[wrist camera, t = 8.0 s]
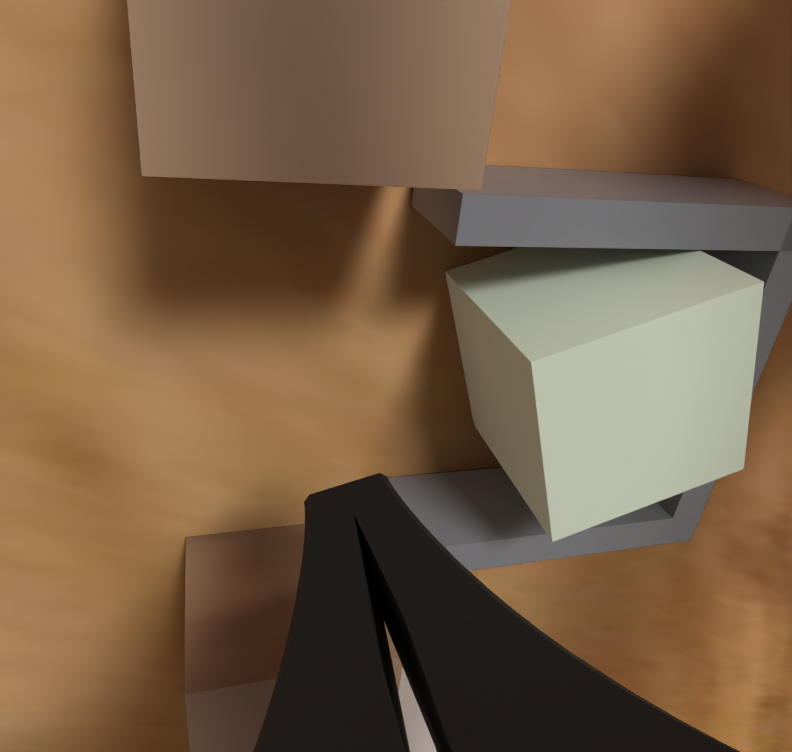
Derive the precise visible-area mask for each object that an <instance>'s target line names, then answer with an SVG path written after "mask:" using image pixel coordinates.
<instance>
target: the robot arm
mask: <svg viewBox="0 0 792 752" xmlns="http://www.w3.org/2000/svg"><path fill="white" fill-rule="evenodd" d="M304 505H305V533H304V545H303V554H302V563H301V569H300V575H299V582H298V588H297V594H296V600H295V605H294V610H293V615H292V619H291V624H290V628H289V632H288V637H287V641H286V645H285V650H284V654H283V658H282V662H281V666H280V669H279V673H278V677H277V680H276V684H275V687H274V690H273V694H272V697H271V700H270V703H269V707H268V710H267V713H266V716H265V719H264V723H263V726H262V729H261V731H260V734H259V737H258V740H257V743H256V745H255V748H254V751H253V752H410V749H409V744H408V739H407V734H406V729H405V724H404V719H403V714H402V709H401V704H400V699H399V693H398V688H397V683H396V678H395V673H394V668H393V663H392V658H391V653H390V648H389V643H388V638H387V633H386V628H385V625H386V627H387V630H388V632H389V634H390V637H391V639H392V642H393V644H394V647H395V649H396V652H397V654H398V657H399V659H400V662H401V664H402V667H403V669H404V671H405V674H406V676H407V679H408V681H409V684H410V686H411V689H412V691H413V694H414V696H415V698H416V701H417V703H418V706H419V708H420V711H421V713H422V716H423V718H424V721H425V723H426V725H427V728H428V730H429V733H430V735H431V738H432V740H433V743H434V745H435V748H436V751H437V752H740V751H738V750H736V749H734V748H732V747H730V746H728V745H726V744H724V743H722V742H720V741H718V740H716V739H714V738H712V737H711V736H709V735H707V734H705V733H703V732H701V731H699V730H698V729H696V728H694V727H692V726H690V725H688V724H686V723H685V722H683V721H681V720H679V719H677V718H676V717H674V716H672V715H671V714H669V713H667V712H665V711H664V710H662V709H660V708H658V707H657V706H655V705H653V704H652V703H650V702H648V701H646V700H645V699H643V698H641V697H639V696H638V695H636V694H634V693H633V692H631V691H630V690H628V689H627V688H625V687H623V686H622V685H620V684H619V683H617V682H616V681H614V680H613V679H611V678H609V677H608V676H606V675H605V674H603V673H602V672H600V671H599V670H597V669H595V668H594V667H592V666H591V665H589V664H588V663H586V662H585V661H583V660H581V659H580V658H578V657H577V656H575V655H574V654H572V653H571V652H569V651H568V650H567V649H565V648H564V647H562V646H561V645H560V644H558V643H557V642H556V641H554V640H553V639H551V638H550V637H549V636H547V635H546V634H544V633H543V632H542V631H540V630H539V629H538V628H536V627H535V626H534V625H533V624H531V623H530V622H529V621H527V620H526V619H525V618H523V617H522V616H521V615H520V614H518V613H517V612H516V611H515V610H513V609H512V608H511V607H510V606H508V605H507V604H506V603H505V602H504V601H502V600H501V599H500V598H499V597H498V596H496V595H495V594H494V593H493V592H492V591H491V590H490V589H488V588H487V587H486V586H485V585H484V584H483V583H482V582H481V581H479V580H478V579H477V578H476V577H475V576H474V575H473V574H472V573H471V572H469V571H468V570H467V569H466V568H465V567H464V566H463V565H462V564H461V563H460V562H459V561H458V560H457V559H456V558H455V557H454V556H453V555H452V554H451V553H450V552H449V551H448V550H447V549H446V548H445V547H444V546H443V545H442V544H441V543H440V542H439V541H438V540H437V539H436V538H435V537H434V536H433V535H432V534H431V532H430V531H429V530H428V529H427V528H426V527H425V526H424V525H423V524H422V523H421V521H420V520H419V519H418V518H417V517H416V516H415V514H414V513H413V512H412V511H411V510H410V508H409V507H408V506H407V505H406V503H405V502H404V501H403V500H402V498H401V497H400V496H399V494H398V493H397V492H396V490H395V489H394V487H393V486H392V484H391V483H390V481H389V479H388V478H387V476H385V475H383V474H380V473H378V474H375V475H372V476H368V477H365V478H362V479H359V480H356V481H352V482H349V483H346V484H343V485H339V486H336V487H333V488H330V489H327V490H323V491H320V492H317V493H314V494H310V495H309V496H308V497H307V499H306V500H305V502H304ZM384 622H385V623H384Z"/></svg>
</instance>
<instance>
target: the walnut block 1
mask: <svg viewBox="0 0 792 752" xmlns="http://www.w3.org/2000/svg"><path fill="white" fill-rule="evenodd" d="M511 1H512V0H127V8H128V20H129V32H130V44H131V55H132V67H133V79H134V91H135V103H136V114H137V126H138V138H139V150H140V161H141V173H142V176H152V177H176V178H200V179H224V180H248V181H271V182H295V183H319V184H343V185H367V186H391V187H415V188H439V189H463V190H481V186H482V180H483V174H484V168H485V161H486V155H487V149H488V143H489V137H490V131H491V124H492V118H493V112H494V106H495V100H496V94H497V87H498V81H499V75H500V69H501V63H502V56H503V50H504V44H505V38H506V32H507V26H508V19H509V13H510V7H511Z"/></svg>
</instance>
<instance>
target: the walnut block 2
mask: <svg viewBox="0 0 792 752" xmlns="http://www.w3.org/2000/svg"><path fill="white" fill-rule="evenodd" d="M304 533H305V524H300V525H291V526H281V527H272V528H263V529H254V530H245V531H236V532H227V533H218V534H209V535H200V536H191V537H186V561H185V667H184V697H185V708H186V719H187V730H188V740H189V751H190V752H253V751H254V748H255V745H256V743H257V740H258V737H259V734H260V731H261V729H262V726H263V723H264V719H265V716H266V713H267V710H268V707H269V703H270V700H271V697H272V694H273V690H274V687H275V684H276V680H277V677H278V673H279V669H280V666H281V662H282V658H283V654H284V650H285V645H286V641H287V637H288V632H289V628H290V624H291V619H292V615H293V610H294V605H295V600H296V594H297V588H298V582H299V575H300V569H301V563H302V554H303V545H304ZM384 623H385V622H384ZM385 628H386V633H387V638H388V643H389V648H390V653H391V658H392V663H393V668H394V673H395V678H396V683H397V688H398V693H399V687H400V680H401V674H402V668H403V667H402V664H401V662H400V659H399V657H398V654H397V652H396V649H395V647H394V644H393V642H392V639H391V637H390V634H389V632H388V630H387V627H386V625H385Z"/></svg>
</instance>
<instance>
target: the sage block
mask: <svg viewBox="0 0 792 752" xmlns="http://www.w3.org/2000/svg"><path fill="white" fill-rule="evenodd" d="M445 274H446V279H447V284H448V289H449V295H450V300H451V305H452V311H453V316H454V321H455V327H456V332H457V337H458V343H459V348H460V353H461V359H462V364H463V369H464V375H465V380H466V385H467V391H468V396H469V401H470V407H471V412H472V417H473V422H474V426H475V427H476V429H477V430H478V432H479V433H480V435H481V436H482V438H483V439H484V441H485V442H486V444H487V445H488V447H489V448H490V450H491V451H492V453H493V454H494V456H495V457H496V459H497V460H498V462H499V463H500V465H501V466H502V468H503V469H504V471H505V472H506V474H507V475H508V477H509V478H510V480H511V481H512V482H513V484H514V485H515V487H516V488H517V490H518V491H519V493H520V494H521V496H522V497H523V499H524V500H525V502H526V503H527V505H528V506H529V508H530V509H531V511H532V512H533V514H534V515H535V517H536V518H537V520H538V521H539V523H540V524H541V526H542V527H543V529H544V530H545V532H546V533H547V535H548V536H549V538H550V539H551V541H552V542H554V541H557V540H559V539H562V538H564V537H567V536H570V535H572V534H575V533H577V532H580V531H583V530H585V529H588V528H591V527H593V526H596V525H598V524H601V523H604V522H606V521H609V520H612V519H614V518H617V517H619V516H622V515H625V514H627V513H630V512H632V511H635V510H638V509H640V508H643V507H646V506H648V505H651V504H653V503H656V502H659V501H661V500H664V499H667V498H669V497H672V496H674V495H677V494H680V493H682V492H685V491H687V490H690V489H693V488H695V487H698V486H701V485H703V484H706V483H708V482H711V481H714V480H716V479H719V478H721V477H724V476H727V475H729V474H732V473H735V472H737V471H740V470H742V469H744V462H745V452H746V443H747V434H748V425H749V416H750V406H751V397H752V388H753V379H754V370H755V361H756V351H757V342H758V333H759V324H760V315H761V305H762V296H763V287H764V281H762V280H760V279H758V278H755V277H753V276H751V275H749V274H747V273H745V272H743V271H741V270H739V269H737V268H735V267H733V266H731V265H729V264H727V263H725V262H723V261H720V260H718V259H716V258H714V257H712V256H710V255H708V254H706V253H704V252H702V251H700V250H682V249H621V248H560V247H519V248H516V249H513V250H510V251H506V252H503V253H500V254H497V255H494V256H491V257H488V258H485V259H482V260H479V261H475V262H472V263H469V264H466V265H463V266H460V267H457V268H454V269H451V270H448V271H445Z"/></svg>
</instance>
